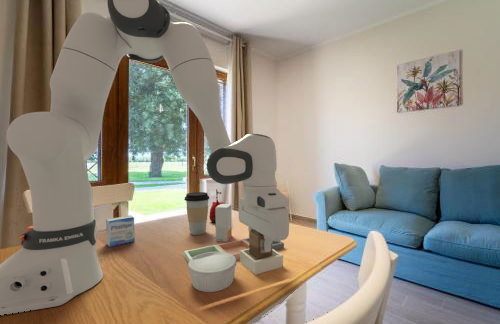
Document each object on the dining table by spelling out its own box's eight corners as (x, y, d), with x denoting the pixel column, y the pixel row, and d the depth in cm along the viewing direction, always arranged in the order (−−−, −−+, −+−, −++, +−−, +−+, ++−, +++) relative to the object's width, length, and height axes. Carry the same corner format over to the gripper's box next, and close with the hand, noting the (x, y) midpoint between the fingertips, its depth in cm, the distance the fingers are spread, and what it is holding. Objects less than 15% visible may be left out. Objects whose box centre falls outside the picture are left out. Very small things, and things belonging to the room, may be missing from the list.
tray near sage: (193, 271, 61) (192, 264, 61) (184, 257, 70) (184, 250, 70) (227, 263, 66) (227, 256, 66) (215, 251, 74) (215, 244, 74)
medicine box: (109, 247, 78) (108, 221, 78) (106, 244, 81) (105, 218, 81) (135, 241, 83) (134, 216, 83) (131, 238, 87) (130, 214, 86)
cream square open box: (255, 276, 58) (254, 262, 58) (239, 263, 66) (239, 250, 66) (283, 268, 62) (282, 255, 62) (265, 256, 70) (265, 244, 70)
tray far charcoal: (257, 256, 70) (257, 249, 70) (242, 245, 79) (242, 239, 79) (284, 249, 75) (283, 243, 75) (267, 239, 83) (267, 234, 83)
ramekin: (216, 266, 64) (216, 247, 64) (246, 281, 56) (246, 259, 56) (179, 283, 56) (178, 261, 56) (207, 303, 48) (207, 278, 48)
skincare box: (227, 242, 81) (226, 207, 80) (215, 242, 82) (214, 207, 81) (232, 236, 87) (231, 203, 86) (221, 236, 88) (220, 203, 87)
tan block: (257, 259, 61) (257, 236, 61) (249, 253, 65) (249, 231, 65) (272, 256, 63) (272, 233, 63) (263, 250, 67) (263, 228, 67)
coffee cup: (215, 231, 93) (214, 192, 93) (197, 238, 86) (197, 196, 85) (197, 227, 99) (196, 191, 98) (179, 233, 91) (178, 194, 90)
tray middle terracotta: (227, 263, 66) (227, 256, 66) (215, 251, 74) (215, 244, 74) (257, 255, 70) (257, 249, 70) (242, 245, 79) (242, 239, 79)
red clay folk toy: (227, 219, 110) (227, 187, 109) (224, 224, 103) (224, 189, 102) (211, 219, 110) (210, 187, 110) (207, 223, 103) (206, 189, 103)
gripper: (233, 191, 71) (233, 237, 72) (271, 203, 53) (271, 264, 54) (251, 189, 74) (252, 233, 75) (293, 200, 56) (293, 258, 57)
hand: (260, 246), depth 64 cm, fingers closed on tan block, 5 cm apart
